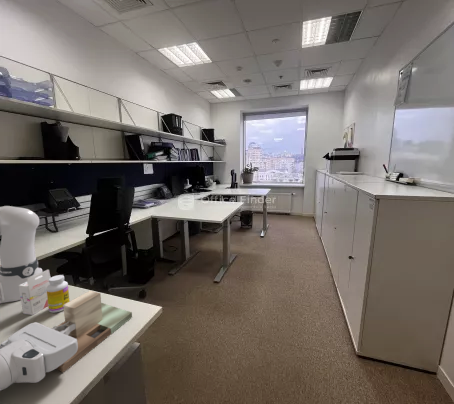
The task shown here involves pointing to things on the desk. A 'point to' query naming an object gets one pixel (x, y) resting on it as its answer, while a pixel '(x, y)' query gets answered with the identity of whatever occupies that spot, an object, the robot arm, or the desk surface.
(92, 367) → the desk surface
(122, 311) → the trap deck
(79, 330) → the birch block
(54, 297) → the supplement bottle
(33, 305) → the ink cartridge box
